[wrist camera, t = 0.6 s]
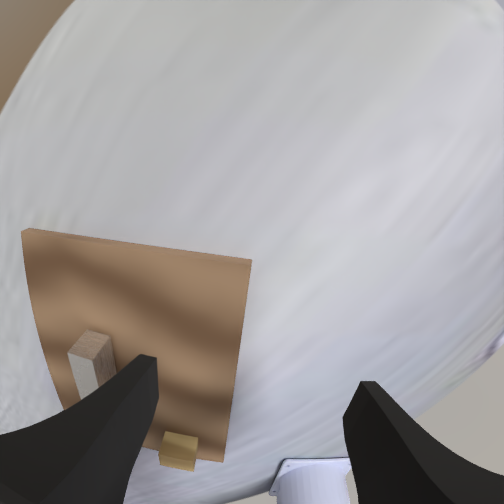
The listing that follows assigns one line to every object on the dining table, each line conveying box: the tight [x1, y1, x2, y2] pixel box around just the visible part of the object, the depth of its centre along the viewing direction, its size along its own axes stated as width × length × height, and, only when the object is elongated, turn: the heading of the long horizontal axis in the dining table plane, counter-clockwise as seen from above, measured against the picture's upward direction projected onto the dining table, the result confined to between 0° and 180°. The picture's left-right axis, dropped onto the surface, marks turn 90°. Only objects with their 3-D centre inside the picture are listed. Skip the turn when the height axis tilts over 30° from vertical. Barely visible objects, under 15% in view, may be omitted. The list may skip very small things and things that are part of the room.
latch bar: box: [67, 329, 117, 400], centre depth 18 cm, size 11×3×4 cm, turn 172°
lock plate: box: [21, 228, 252, 472], centre depth 19 cm, size 21×17×4 cm
